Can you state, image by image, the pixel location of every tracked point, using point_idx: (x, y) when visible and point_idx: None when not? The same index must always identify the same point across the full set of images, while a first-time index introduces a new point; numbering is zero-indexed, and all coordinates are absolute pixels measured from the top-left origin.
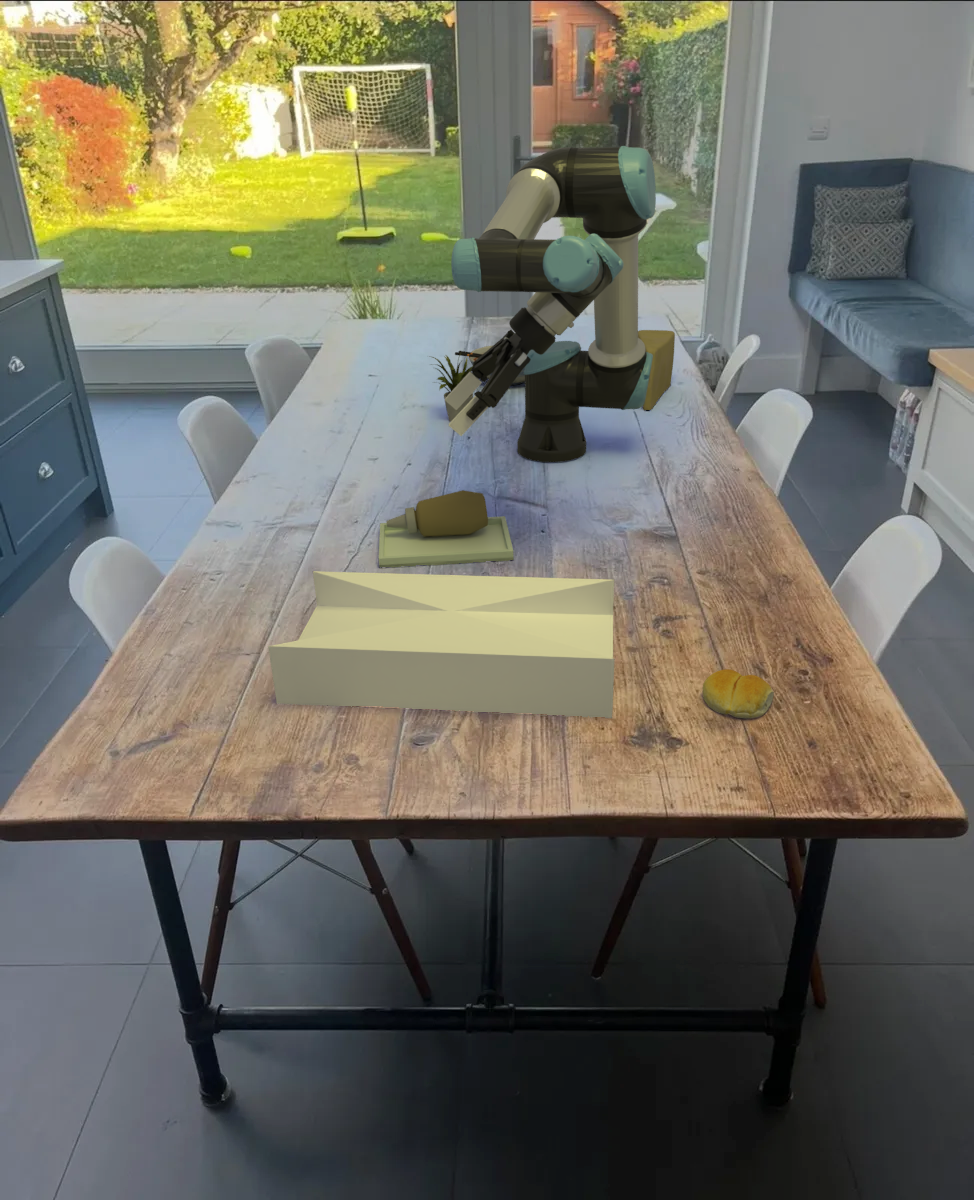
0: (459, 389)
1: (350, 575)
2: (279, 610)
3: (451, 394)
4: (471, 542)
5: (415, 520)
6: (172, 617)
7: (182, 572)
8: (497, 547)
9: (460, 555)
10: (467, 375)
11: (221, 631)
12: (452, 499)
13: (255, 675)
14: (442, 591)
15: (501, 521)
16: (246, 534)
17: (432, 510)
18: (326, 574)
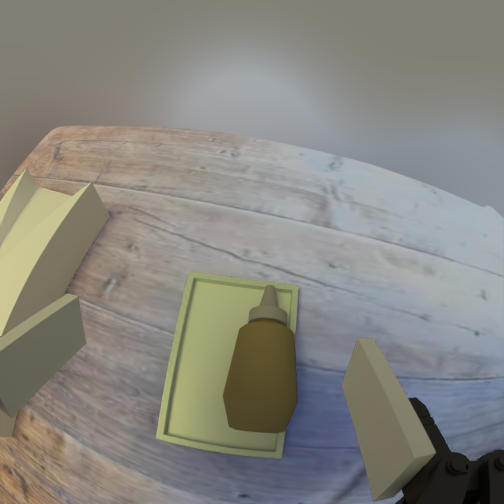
0: (373, 395)
1: (65, 209)
2: (145, 190)
3: (365, 361)
4: (221, 399)
5: (250, 321)
6: (172, 137)
7: (244, 137)
8: (195, 428)
9: (167, 371)
10: (407, 439)
11: (136, 161)
12: (249, 375)
13: (74, 183)
14: (3, 281)
15: (270, 451)
16: (312, 172)
17: (244, 342)
18: (79, 191)
